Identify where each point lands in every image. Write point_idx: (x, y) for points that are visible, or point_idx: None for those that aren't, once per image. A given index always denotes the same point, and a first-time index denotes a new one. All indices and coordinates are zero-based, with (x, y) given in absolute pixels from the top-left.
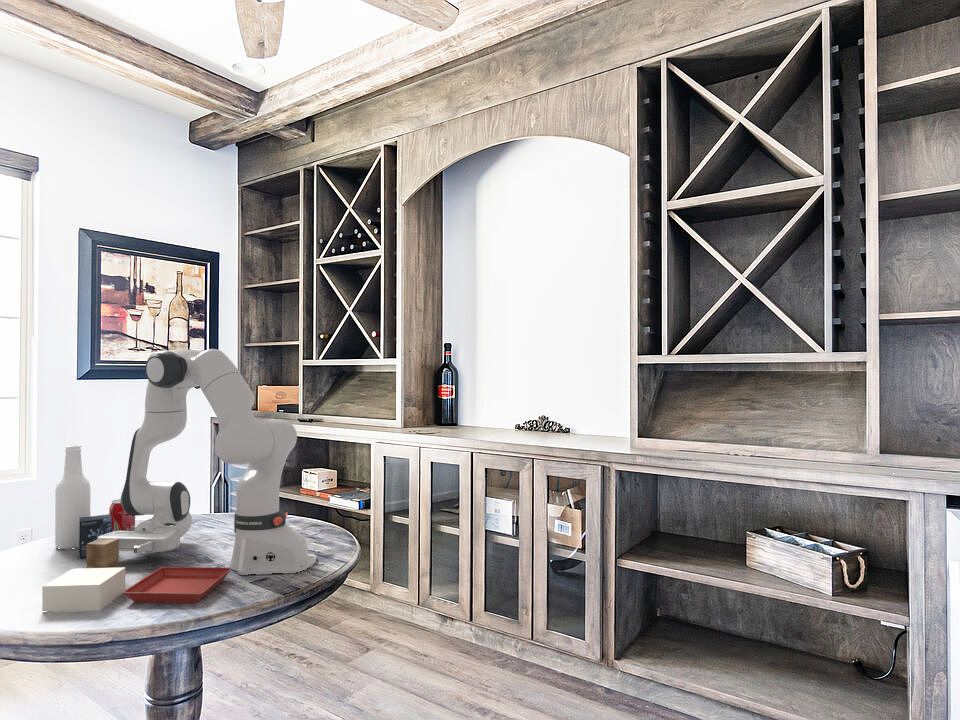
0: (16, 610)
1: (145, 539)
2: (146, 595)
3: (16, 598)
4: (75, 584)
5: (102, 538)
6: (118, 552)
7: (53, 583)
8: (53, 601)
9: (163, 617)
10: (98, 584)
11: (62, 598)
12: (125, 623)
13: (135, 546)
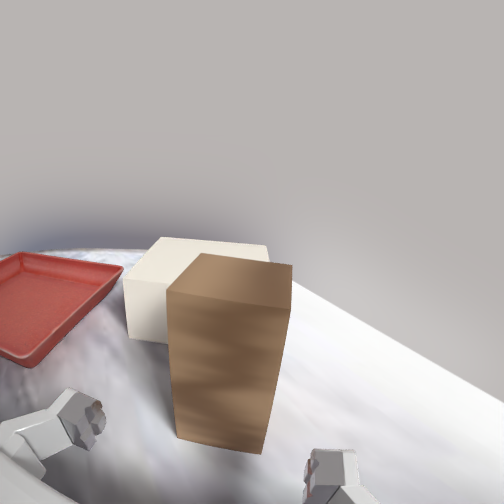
0: (315, 301)
1: (22, 468)
2: (86, 267)
3: (373, 336)
4: (206, 242)
5: (273, 306)
6: (170, 354)
7: (254, 249)
8: None
9: (73, 257)
10: (163, 237)
11: None
12: (118, 256)
13: (89, 400)
